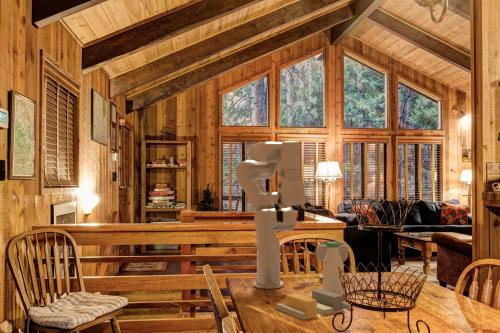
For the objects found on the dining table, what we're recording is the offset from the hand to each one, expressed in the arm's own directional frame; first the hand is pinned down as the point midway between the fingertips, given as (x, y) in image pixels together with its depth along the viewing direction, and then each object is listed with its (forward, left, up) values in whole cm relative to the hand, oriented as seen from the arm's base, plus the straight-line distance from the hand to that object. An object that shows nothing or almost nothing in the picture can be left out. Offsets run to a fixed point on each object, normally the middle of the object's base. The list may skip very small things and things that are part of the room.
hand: (290, 221), depth 173 cm
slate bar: (+18, +2, -27) cm, 33 cm away
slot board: (+18, -4, -28) cm, 34 cm away
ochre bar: (+18, -9, -27) cm, 34 cm away
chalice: (-19, +38, -28) cm, 51 cm away
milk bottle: (+5, +16, -28) cm, 33 cm away
